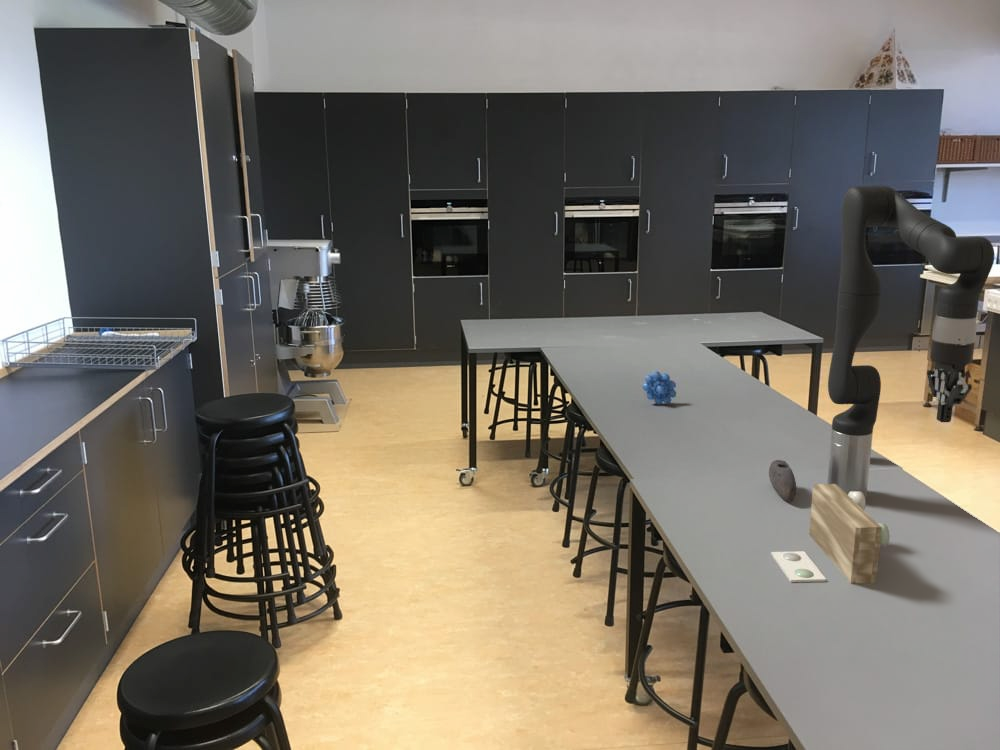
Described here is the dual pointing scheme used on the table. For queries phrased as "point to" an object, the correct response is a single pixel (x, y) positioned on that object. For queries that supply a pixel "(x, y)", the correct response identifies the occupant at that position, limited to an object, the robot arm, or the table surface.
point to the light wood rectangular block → (845, 533)
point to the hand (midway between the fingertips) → (943, 421)
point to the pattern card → (798, 567)
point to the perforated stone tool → (782, 480)
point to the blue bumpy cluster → (659, 388)
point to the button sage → (884, 535)
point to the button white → (858, 498)
